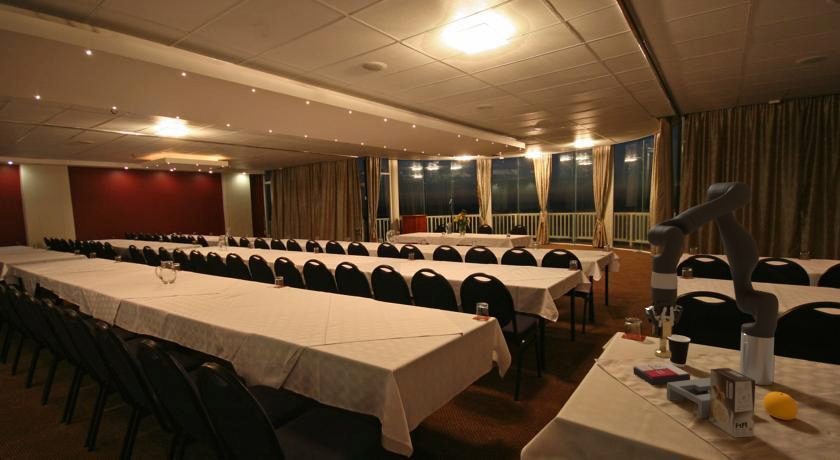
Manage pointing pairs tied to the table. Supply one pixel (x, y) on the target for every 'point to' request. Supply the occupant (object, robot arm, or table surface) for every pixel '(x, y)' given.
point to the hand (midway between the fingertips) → (663, 336)
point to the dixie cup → (678, 349)
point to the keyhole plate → (692, 393)
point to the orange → (780, 406)
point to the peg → (664, 340)
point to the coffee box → (732, 402)
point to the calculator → (660, 373)
